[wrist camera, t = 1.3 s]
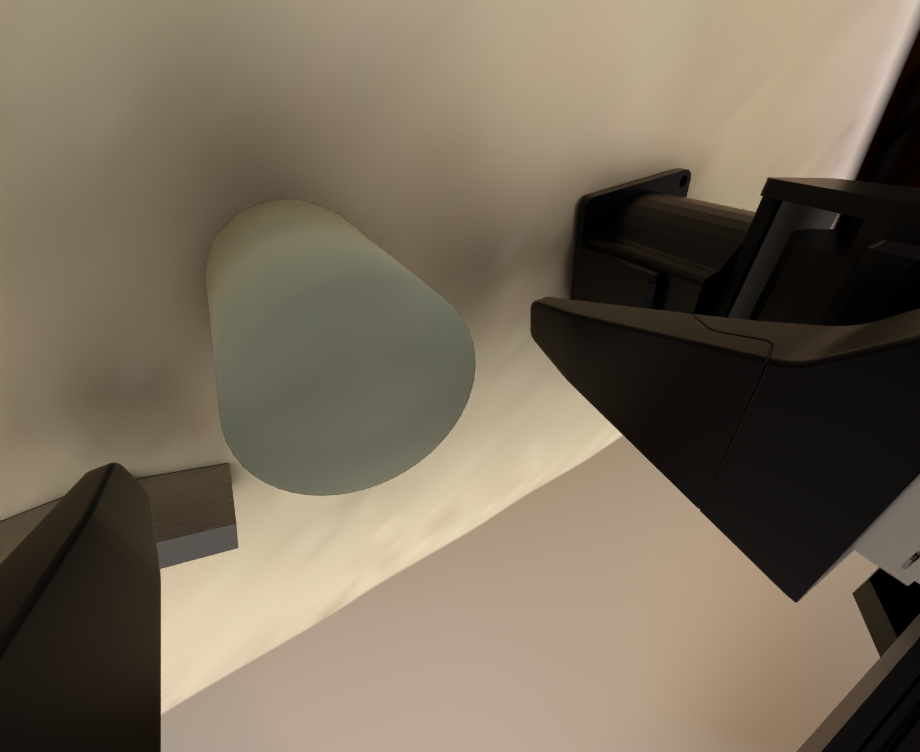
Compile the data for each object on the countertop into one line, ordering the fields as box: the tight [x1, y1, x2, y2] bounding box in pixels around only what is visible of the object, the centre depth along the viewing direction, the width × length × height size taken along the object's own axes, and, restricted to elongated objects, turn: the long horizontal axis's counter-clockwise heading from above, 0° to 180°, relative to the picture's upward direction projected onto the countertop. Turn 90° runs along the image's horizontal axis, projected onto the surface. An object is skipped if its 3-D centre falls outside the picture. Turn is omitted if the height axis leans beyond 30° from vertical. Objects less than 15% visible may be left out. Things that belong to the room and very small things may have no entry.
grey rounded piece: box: [206, 200, 475, 496], centre depth 11 cm, size 5×5×7 cm
